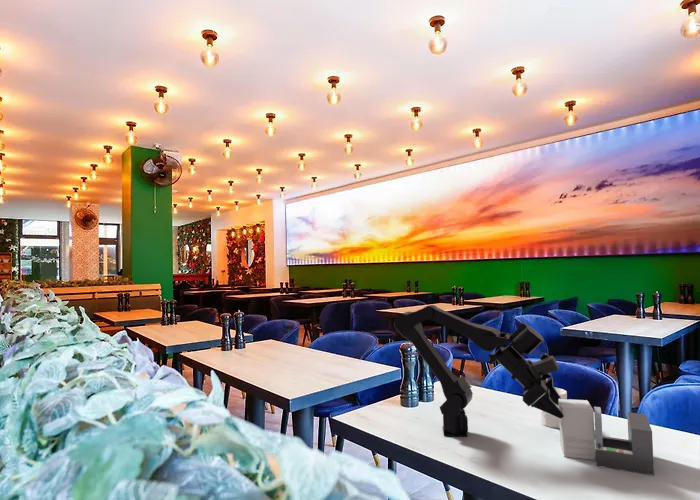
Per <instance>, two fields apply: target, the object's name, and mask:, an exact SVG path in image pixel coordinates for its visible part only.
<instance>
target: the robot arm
mask: <svg viewBox="0 0 700 500" xmlns="http://www.w3.org/2000/svg"><path fill="white" fill-rule="evenodd" d="M427 320H430V321H432V322H434V323H436V324H439V325H441V326H443V327H445V328H446V329H447V328H448V329H450V330H452V331H454V332H456V333H457V334H458V333H459V334H460V335H462V336H465V337H466V338H467V339H469V340H470V341H471V343H473V344H474V345H475V346H477V347H479V348H480V349H482V350H484V351H486V352H490V353H489V354H488V357H489V359H488V361H489V362H488V364H489V365H493V363H495V362H498V363H499V365H501V366H502V368H504V369H505V370H506V371H507V372H508V374H510V378H511V379H512V380H513V381H514V380H516V382H518V384H520V385H521V386H522V387H523V388H522V390H523V394H522V402H524V403H525V404H526V406H527V407H531V408H536V409H537V410H539V411H540V410H542V411H545V412H547V413H549V414H551V415H554V416H556V417H558V418H562V417H564V415H563V414H562V412H561V411H560V410H559V408H558V407H557V406H556V404H557V405H559V402H558V399H561V397H560V396H559V394H558V393H557V391H556V389H555V388H556V387H555V386H554V380H553V376H552V373H555V372H557V371H558V370H559V368H560V366H559V364H558V363H557V360H556V358H555V357H554V355H549V354H548V353H546V352H545V353H543V354H541V355H540V359H539V360H537V361H535V362H533V361H532V360H530V359H526V358H525V357H524V356H523V355H524V354H526V355H530V354H531V353H532V352H533V351H534V350H535V349H536V348H537V347H539V345H541V343H543V342H544V341H545V340H544V337H543V336H542V335H541V333H539V332H538V331H537V330H536V329H534V328H532V327H531V326H530V325H528V324H527V323H526V322H522V323H521V324H520V325H519V326H518V328H516V329H515V331H514V332H513V333H508V332H501V331H500V330H499V329H497V328H496V327H492V326H488V325H485V324H479V323H475V322H471V321H469V320H467V319H464V318H461V317H459V316H458V315H455V314H454V313H450V312H448V311H446V310H444V309H442V308H440V307H437V306H436V305H434V304H429V305H426V306H424V307H423V308H421V309H418V310H416V311H405V312H402V313H399V314H397V315H396V316H395V317H394V321H393V327H394V329H396V330H397V332H398V333H399V334H400V335H401V336H402V338H405V339H406V340H408V342H410V343H411V344H412V345H413V346H414V347H415V349H416V350H417V352H418V353H419V354H420V357H422V359H423V360H424V362H425V363H426V365H427V366H428V367H429V369H430V370H431V371H432V373H433V374H434V376H435V378H437V380H438V381H439V383H440V385H441V389H442V393H443V396H444V397H445V399H446V400H445V401H444V402H443V403H442V404H441V405H440V406H439V410H440V413H441V415H442V426H441V427H442V433H443V436H446V437H467V436H468V434H467V433H468V432H469V427H468V426H469V425H468V424H469V422H468V421H469V419H468V415H467V414H466V411H465V408H466V407H467V406H468V404H470V403H471V401H472V399H473V394H474V393H473V391H472V389H471V388H472V385H470V384H469V383H468V381H467V380H466V378H465V376H464V375H461V376H460V377H458V376H457V375H456V374H454V373H453V372H452V370H451V369H450V367H449V366H448V365H447V364H446V362H445V361H444V359H443V358H442V356H441V355H440V354H439V352H438V351H437V350H436V348H435V347H434V346H433V344H432V343H431V341H430V340H429V339H428V337H427V336H426V334H425V331H424V328H423V325H422V324H423V323H422V322H425V321H427ZM509 342H510V343H509ZM507 343H509V344H508V345H507V346H506V347H504V346H505V345H506V344H507ZM498 347H499V348H498ZM497 348H498V349H497ZM496 349H497V350H496ZM495 350H496V351H495ZM492 351H495V352H492Z"/></svg>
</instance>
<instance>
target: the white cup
mask: <svg viewBox="0 0 700 500" xmlns="http://www.w3.org/2000/svg"><path fill="white" fill-rule="evenodd" d="M554 388H555V389H556V391H557V393H558V394H559V396H560V397H561V399H568V393H567V390H565V389H563V388H559V387H554ZM556 406H557V407H558V408H559V405H557V404H556ZM539 413H540V420H541V421H540V422H541V424H542V425H543V426H545V427H548V428H554V429H560V421H559V418H558V417H556V416H554V415H551V414H549V413H547V412H545V411H542V410H540V409H539Z"/></svg>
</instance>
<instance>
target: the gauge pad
mask: <svg viewBox="0 0 700 500" xmlns="http://www.w3.org/2000/svg"><path fill="white" fill-rule="evenodd" d="M593 412H594V434H595V441H596V446H598V448H601V447H603V440H602V436H603V421H602V419H603V418H602V409H601V407H600V406H593ZM600 446H601V447H600Z"/></svg>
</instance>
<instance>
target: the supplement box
mask: <svg viewBox="0 0 700 500" xmlns="http://www.w3.org/2000/svg"><path fill="white" fill-rule="evenodd" d="M558 402H559V410H560V411H561V412H562V414H563V415H564V417H562V418H559V421H560V428H559V443H560V444H559V445H560V447H561V450H562V454H563V457H565V458H576V459H585V460H593V461H594V460H595V461H596V447H595V416H594V407H592V405H591V404H590V402H589V401H588V400H587V399H585V400H584V399H571V398H567V399H558Z"/></svg>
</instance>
